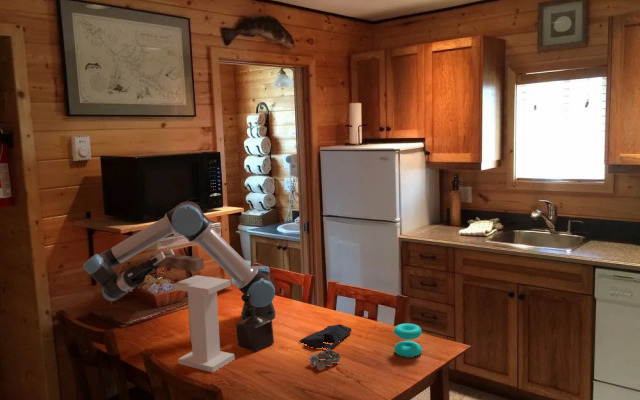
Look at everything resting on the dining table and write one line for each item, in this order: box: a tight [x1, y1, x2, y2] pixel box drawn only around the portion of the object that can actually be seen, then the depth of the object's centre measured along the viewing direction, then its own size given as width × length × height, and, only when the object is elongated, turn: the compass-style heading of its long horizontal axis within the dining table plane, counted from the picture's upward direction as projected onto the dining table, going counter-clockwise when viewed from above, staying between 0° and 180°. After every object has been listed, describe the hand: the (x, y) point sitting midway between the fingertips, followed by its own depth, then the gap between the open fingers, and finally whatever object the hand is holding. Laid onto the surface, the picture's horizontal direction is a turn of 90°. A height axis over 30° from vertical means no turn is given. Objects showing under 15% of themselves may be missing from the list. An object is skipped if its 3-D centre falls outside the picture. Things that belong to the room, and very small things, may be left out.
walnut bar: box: [149, 252, 205, 273], centre depth 199 cm, size 22×4×4 cm, turn 61°
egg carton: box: [308, 348, 342, 369], centre depth 194 cm, size 11×8×4 cm
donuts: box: [393, 322, 423, 358], centre depth 201 cm, size 10×10×10 cm
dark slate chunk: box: [298, 323, 352, 350], centre depth 217 cm, size 15×22×5 cm
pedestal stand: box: [173, 274, 236, 373], centre depth 197 cm, size 16×12×30 cm
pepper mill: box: [235, 293, 275, 353], centre depth 214 cm, size 16×11×18 cm
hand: (168, 253), depth 201 cm, fingers closed on walnut bar, 4 cm apart
